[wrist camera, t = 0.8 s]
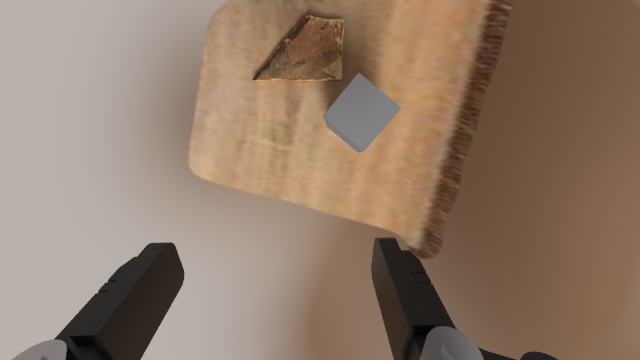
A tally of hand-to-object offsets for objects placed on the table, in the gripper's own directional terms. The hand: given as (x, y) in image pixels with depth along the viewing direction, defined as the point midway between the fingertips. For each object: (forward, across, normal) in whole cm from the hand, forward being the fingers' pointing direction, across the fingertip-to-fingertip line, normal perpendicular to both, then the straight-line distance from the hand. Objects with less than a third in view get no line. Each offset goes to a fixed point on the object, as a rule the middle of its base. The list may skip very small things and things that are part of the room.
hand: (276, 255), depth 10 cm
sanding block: (+22, -7, 0) cm, 23 cm away
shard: (+26, -1, -6) cm, 27 cm away
